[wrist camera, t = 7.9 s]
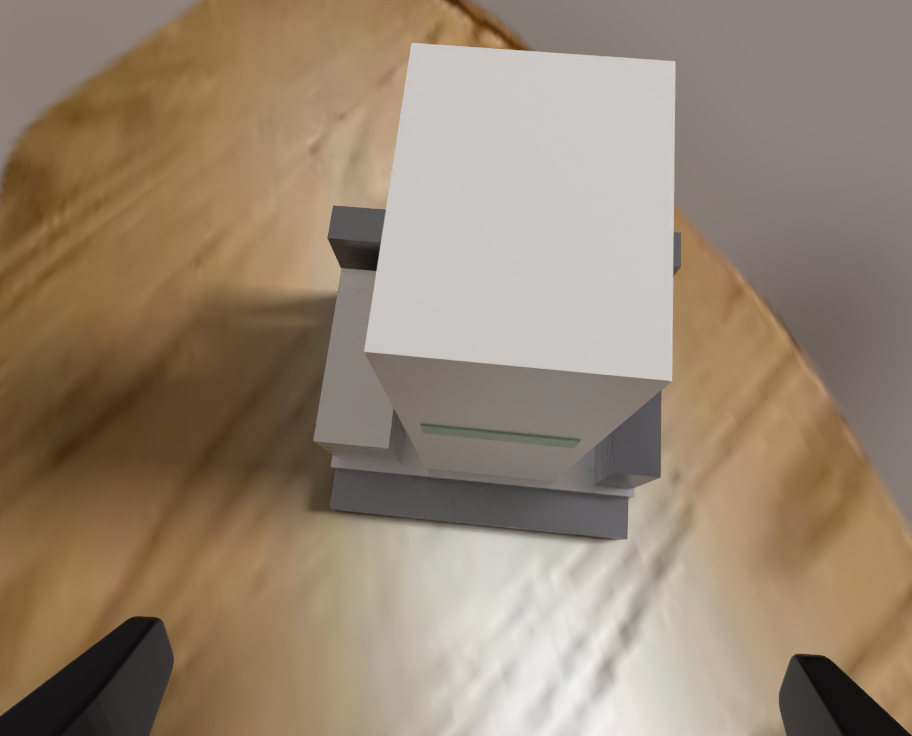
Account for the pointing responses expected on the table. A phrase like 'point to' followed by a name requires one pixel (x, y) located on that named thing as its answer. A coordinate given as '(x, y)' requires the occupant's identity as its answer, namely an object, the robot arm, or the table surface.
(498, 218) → the block
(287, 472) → the table surface
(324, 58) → the table surface
